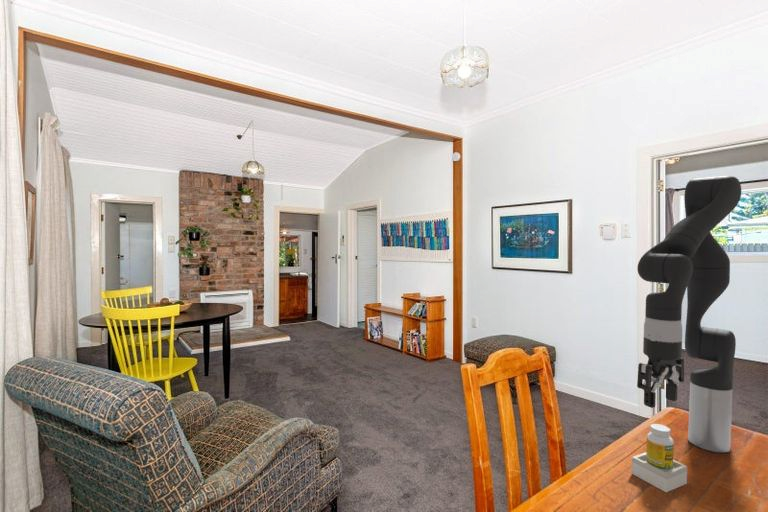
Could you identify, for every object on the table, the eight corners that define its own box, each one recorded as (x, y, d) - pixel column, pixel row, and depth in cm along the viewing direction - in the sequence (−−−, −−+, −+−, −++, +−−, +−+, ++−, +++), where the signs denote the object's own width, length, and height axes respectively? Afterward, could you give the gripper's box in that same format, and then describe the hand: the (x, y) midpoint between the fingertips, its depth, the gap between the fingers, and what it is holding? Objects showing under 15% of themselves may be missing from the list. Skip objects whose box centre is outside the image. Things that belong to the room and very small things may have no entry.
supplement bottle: (651, 457, 98) (653, 420, 98) (676, 468, 94) (678, 428, 94) (641, 464, 96) (643, 425, 95) (667, 475, 91) (668, 435, 91)
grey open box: (651, 465, 100) (652, 449, 100) (686, 483, 93) (687, 466, 93) (631, 473, 97) (632, 456, 97) (666, 492, 90) (666, 474, 89)
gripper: (663, 330, 100) (662, 392, 101) (627, 336, 94) (626, 402, 95) (697, 337, 93) (695, 403, 94) (660, 344, 87) (658, 415, 88)
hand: (660, 403), depth 94 cm, fingers open, 8 cm apart
